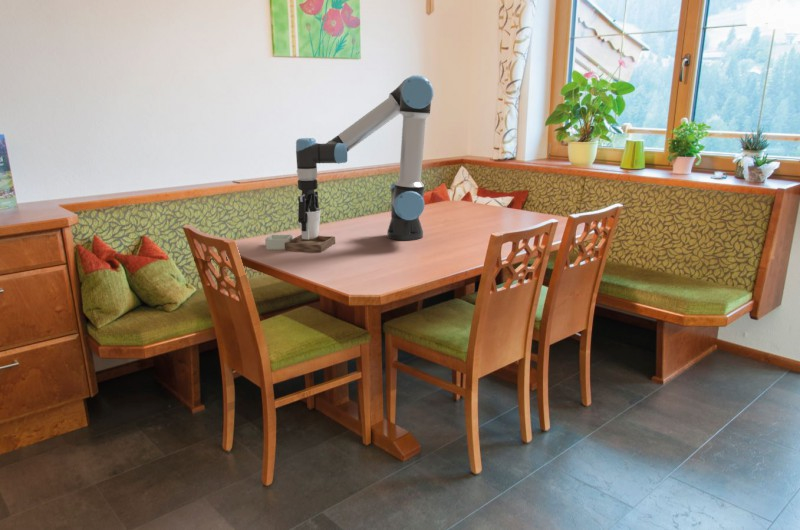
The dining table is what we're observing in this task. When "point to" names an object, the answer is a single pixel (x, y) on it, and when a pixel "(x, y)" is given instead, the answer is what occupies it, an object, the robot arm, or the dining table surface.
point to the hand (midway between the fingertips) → (310, 236)
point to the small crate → (277, 241)
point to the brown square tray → (310, 244)
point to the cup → (313, 222)
